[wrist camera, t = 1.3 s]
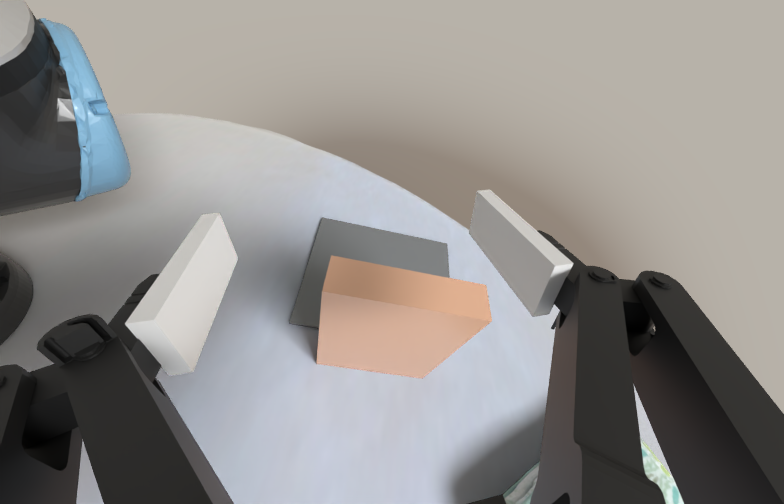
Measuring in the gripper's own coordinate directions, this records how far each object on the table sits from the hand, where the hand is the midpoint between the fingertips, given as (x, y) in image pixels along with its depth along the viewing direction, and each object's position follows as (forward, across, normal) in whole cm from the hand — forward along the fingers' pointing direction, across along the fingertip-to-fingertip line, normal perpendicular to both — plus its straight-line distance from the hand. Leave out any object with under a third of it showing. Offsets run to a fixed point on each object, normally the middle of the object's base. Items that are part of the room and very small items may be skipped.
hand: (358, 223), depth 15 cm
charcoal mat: (+16, +3, -18) cm, 25 cm away
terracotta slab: (+6, +1, -21) cm, 22 cm away
